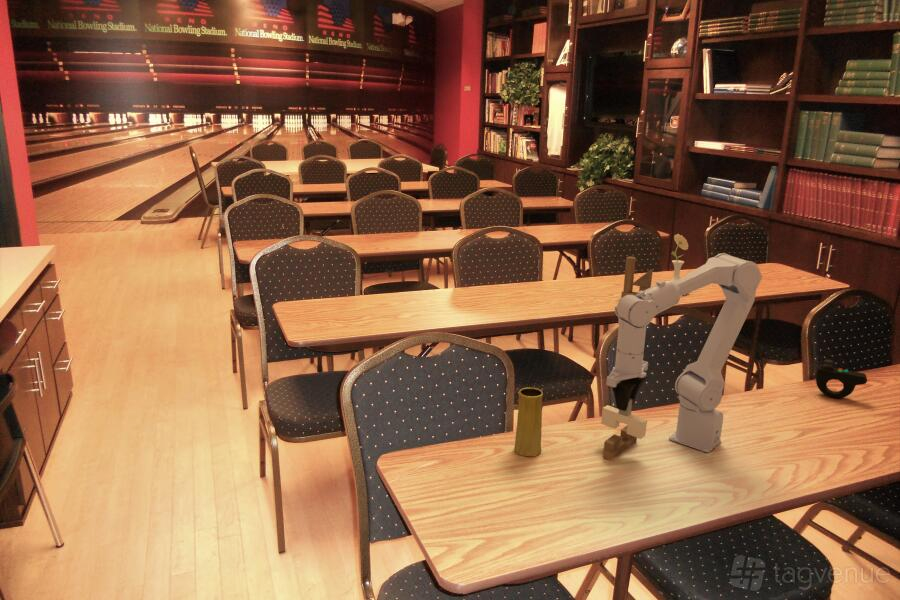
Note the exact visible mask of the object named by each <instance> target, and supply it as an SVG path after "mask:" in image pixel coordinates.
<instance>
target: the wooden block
mask: <svg viewBox="0 0 900 600" xmlns="http://www.w3.org/2000/svg"><path fill="white" fill-rule="evenodd" d="M636 260H637V258H636V257H635V256H626V259H625V270H624V271H625V272H624V281H623V282H624V283H623V291H621V295H620V296H621V297H620V299H621V298H623V297H624V296H626V295H634V296H635V295H636V294H638V292H639V291H644V290H646V289H648V288H650V287H652V280H653V272H654V271H653V268H651V269H650V270H648V271H646V272H645V273H644V274H643V275H642V276H641V277H639V278H638V279H637V280H635V281H634V278H635V270H636V269H635V268H636ZM634 286H636V287H639V289H638V292H637V291H633V290H634V289H633V288H634Z"/></svg>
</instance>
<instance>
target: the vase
mask: <svg viewBox="0 0 900 600" xmlns="http://www.w3.org/2000/svg"><path fill="white" fill-rule="evenodd" d="M543 396H544V393H543V390H541V389H540V388H536V387H523V388H521V389H519V391H518V407H517V408H518V409H517V417H516V418H517V421H516V431H515V442H514V448H513V449H514V452H515V453H517V454H518V456H519V455H520V456H521V457H522V456H523V457H528V458H529V457H531V458H532V457H533V458H534V457H536V456H538V455H541V453H542V425H543V424H542V423H543V422H542V421H543Z"/></svg>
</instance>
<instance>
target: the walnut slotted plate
mask: <svg viewBox="0 0 900 600" xmlns="http://www.w3.org/2000/svg"><path fill="white" fill-rule="evenodd" d="M626 433H627V425H626V426H624V427H623V428H621V429H620V435H619V434H612V435H611V436H610V437H608V438H607V439H606V440H604V443H603V444H604V445H603V454H602V458H604V459H606V460H608V461H613V460H614V459H615V458H617V457H618V456H620V455H621V454H622V453H623V452H625V451H626V450H627V449H629V448H630V447H632V446H633V445H634V444H635V443H637V441H638V440H637V439H638V438H637V437H634V436H631V435H629V434H626Z"/></svg>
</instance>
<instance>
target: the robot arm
mask: <svg viewBox="0 0 900 600" xmlns="http://www.w3.org/2000/svg"><path fill="white" fill-rule="evenodd" d="M679 278H680V279H678V280H676V281H674V282H670V280H662V279H659V280H657V281H656V282H655V283H656V284H654V285H651V287H650V288H648V289H646V290H644V291H639V290H638V292H637V293H638V294H636V295H635V296H634V295H626V296H624V297H623V298H621V297H620V299H619V301H618V302H617V304H616V306H614V314H615V315H616V316H617V319H618V323H617V324H618V329H617V330H618V331H617V343H616V351H615V361H614V362H615V364H614V367H613V369H612V370H611V372H610V373H609V375H608V376H606V384H605V386H608V387H611V390H612V391H613V395H614V400H615V406H616V407H615V408H617V409H620V410H623V411H626V409H627V407H628V403H629V398H630V399H633V400H632V407H633V406H634V403H635V400H636V397H637V395H638V392H639V390H640V389H641V387H642V386H643V384H644V383H645V381H646V377H647V372H646V371H648V367H649V362H648V361H646V360H644V351H645V341H646V332H647V326H648V325H650V323H651V322H652V320H654V317H655V316H657V315H658V314H660V313H662V312H665V311H666V310H668V309H670V308H673V307H675V306H676V305H678V304H679V303H680V300H681V297H682V296H685V295H687V294H690V293H692V292H695V291H697V290H699V289H701V288H704V287H706V286H709V285H712V284H716V285H718V286H719V288H721V291H722V292H723V295H724V296H725V301H724V303H723V306H722V308H721V310H720V311H719V314H718V316H717V317H716V321H715V323H713V327H712V328H711V330H710V332H709V334H708V337H707V339H706V342H705V344H704V346H703V348H702V349H701V351H700V354H699V355H698V358H697V361H694V362H691V363H689V364H687V365H686V367H685V369H684V371H682V372H681V373H680V375H678V377H677V378H676V380H675V383H674V390H675V392H676V393H677V394H678V400H679V407H678V414H677V423H676V428H675V429H676V430H675V432H674V433H673V434H671V435H670V436H669V437H668V439H669V440H670V441H672V442H675V443H677V444H681V445H683V446H684V445H685V446H687V447H690V448H692V449H696V450H698V451H701V452H704V453H707V454H708V453H710V452H711V451H712V450H713V449H714V448H715V447H716V446H718V445H719V444H720V443H721V441H722V439H721V435H722V429H723V423H724V414H723V412H721V411H719V410H717V408H718V407H719V405H720V403H721V402H722V399H723V390H724V388H725V386H726V383H725V380H724V377H723V374H722V369H723V367H724V366H725V363H726V361H727V359H728V357H729V355H730V352H731V350H732V348H733V346H734V344H735V342H736V340H737V338H738V336H739V334H740V332H741V329H742V327H743V325H744V323H745V321H746V320H747V317H748V316H749V313H750V311H751V309H752V307H753V305H754V303H755V299H756V292H757V289H758V288H759V285H760V283H761V281H762V280H763V275H762V272H761V270H760V267H759V265H758V264H757V263H756V262H754V261H751V260H745V259H742V258H740V257H736V256H732V255H731V254H728V253H726V252H724V253H723V252H722V253H718V254H716V255H715V256H713V257H710V258H708V259H706V262H705V263H704V264H703V265H700V266H699V267H697V268H696V269H694V270H692V271H690V272H689V273H687V274H685V275H682V277H679Z"/></svg>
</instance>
